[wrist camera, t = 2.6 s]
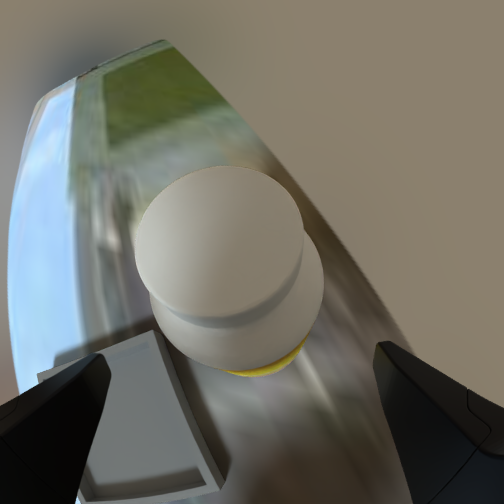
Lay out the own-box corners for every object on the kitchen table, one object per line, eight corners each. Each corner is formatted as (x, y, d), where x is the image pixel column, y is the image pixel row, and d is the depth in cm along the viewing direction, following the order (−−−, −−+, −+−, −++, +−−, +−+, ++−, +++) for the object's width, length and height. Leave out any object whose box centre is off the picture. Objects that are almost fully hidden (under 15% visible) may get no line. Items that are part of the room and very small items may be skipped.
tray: (225, 481, 15) (220, 490, 13) (96, 503, 14) (83, 508, 12) (162, 334, 19) (152, 329, 18) (50, 376, 18) (36, 373, 17)
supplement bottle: (325, 322, 19) (390, 219, 7) (258, 398, 17) (219, 422, 6) (250, 262, 21) (218, 117, 10) (185, 330, 20) (70, 246, 8)
